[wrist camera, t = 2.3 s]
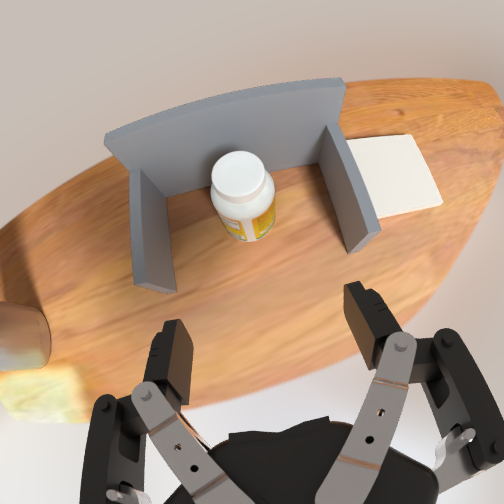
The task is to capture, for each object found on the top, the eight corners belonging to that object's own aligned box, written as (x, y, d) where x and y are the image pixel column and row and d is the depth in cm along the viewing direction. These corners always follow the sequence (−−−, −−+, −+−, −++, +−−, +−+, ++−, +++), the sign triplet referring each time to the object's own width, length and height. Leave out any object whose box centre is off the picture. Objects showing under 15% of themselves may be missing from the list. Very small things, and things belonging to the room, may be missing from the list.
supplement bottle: (226, 246, 28) (202, 210, 19) (223, 199, 29) (200, 149, 20) (279, 239, 28) (278, 200, 18) (272, 192, 29) (268, 139, 20)
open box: (166, 293, 27) (99, 274, 16) (156, 191, 31) (105, 134, 19) (358, 251, 27) (406, 205, 15) (324, 153, 30) (340, 77, 18)
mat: (373, 219, 27) (375, 216, 26) (343, 145, 30) (345, 140, 29) (439, 205, 27) (443, 202, 26) (408, 138, 29) (410, 134, 28)
